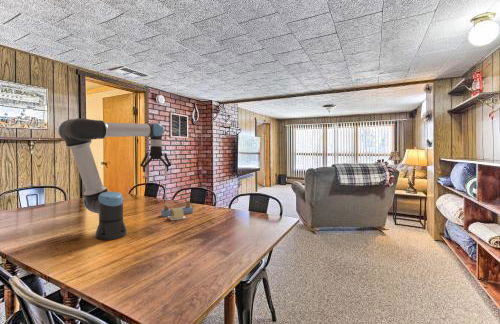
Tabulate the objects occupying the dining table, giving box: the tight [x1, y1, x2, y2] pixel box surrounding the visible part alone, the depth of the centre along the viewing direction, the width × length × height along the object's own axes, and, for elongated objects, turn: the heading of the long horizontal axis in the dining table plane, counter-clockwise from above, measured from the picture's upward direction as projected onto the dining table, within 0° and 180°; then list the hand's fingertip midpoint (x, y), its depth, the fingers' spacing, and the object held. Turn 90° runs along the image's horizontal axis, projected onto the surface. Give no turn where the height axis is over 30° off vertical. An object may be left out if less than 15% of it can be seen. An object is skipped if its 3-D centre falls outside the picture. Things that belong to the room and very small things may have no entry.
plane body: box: [160, 200, 194, 218], centre depth 187 cm, size 5×22×9 cm, turn 126°
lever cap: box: [170, 207, 184, 219], centre depth 176 cm, size 6×8×6 cm
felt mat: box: [167, 215, 187, 221], centre depth 176 cm, size 9×10×1 cm
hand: (155, 176), depth 176 cm, fingers open, 13 cm apart
